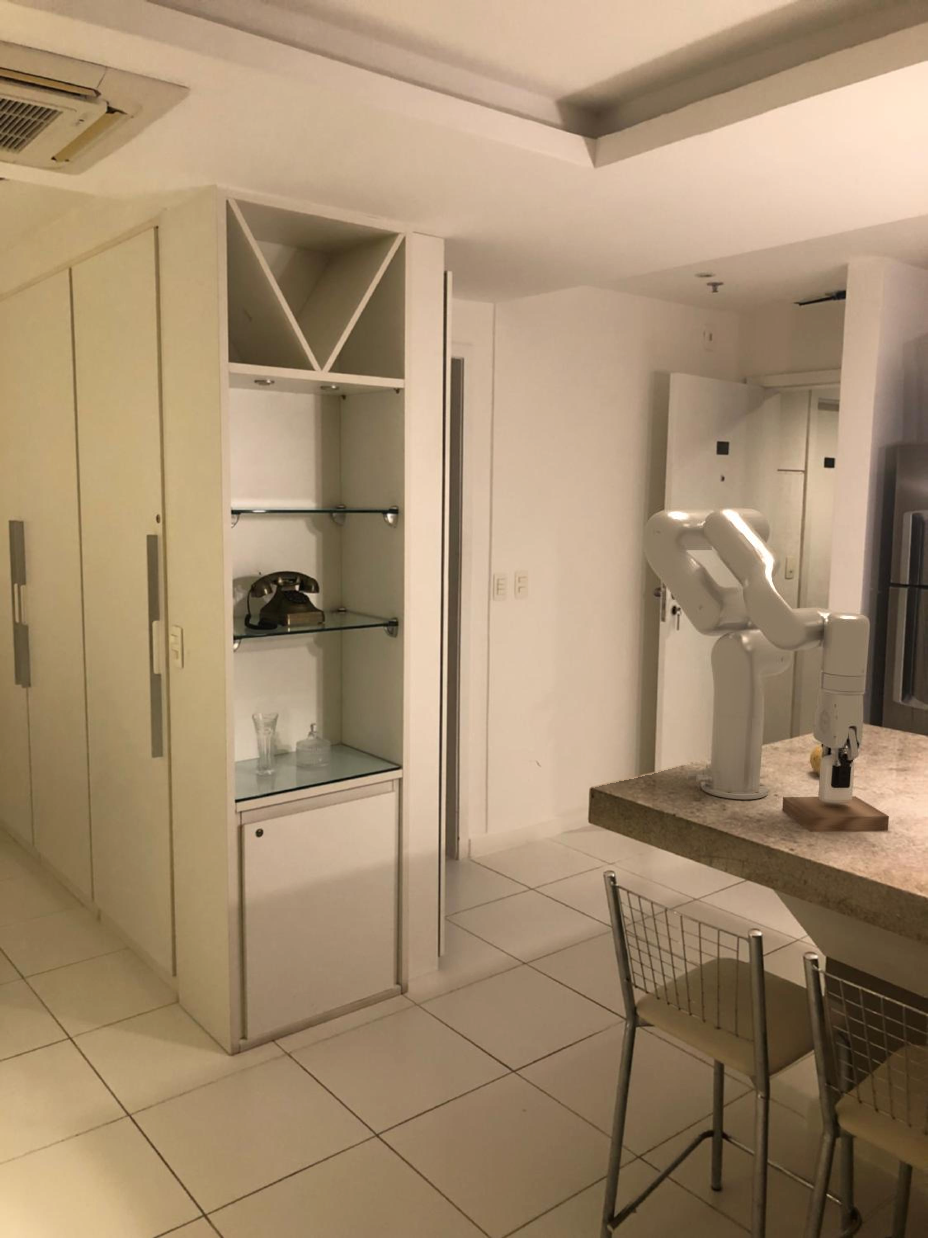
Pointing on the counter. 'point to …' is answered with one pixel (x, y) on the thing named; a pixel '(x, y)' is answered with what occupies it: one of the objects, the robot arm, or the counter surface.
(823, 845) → the counter surface
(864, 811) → the walnut block
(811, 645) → the robot arm
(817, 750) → the potato
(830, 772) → the grey tapered bottle shape
